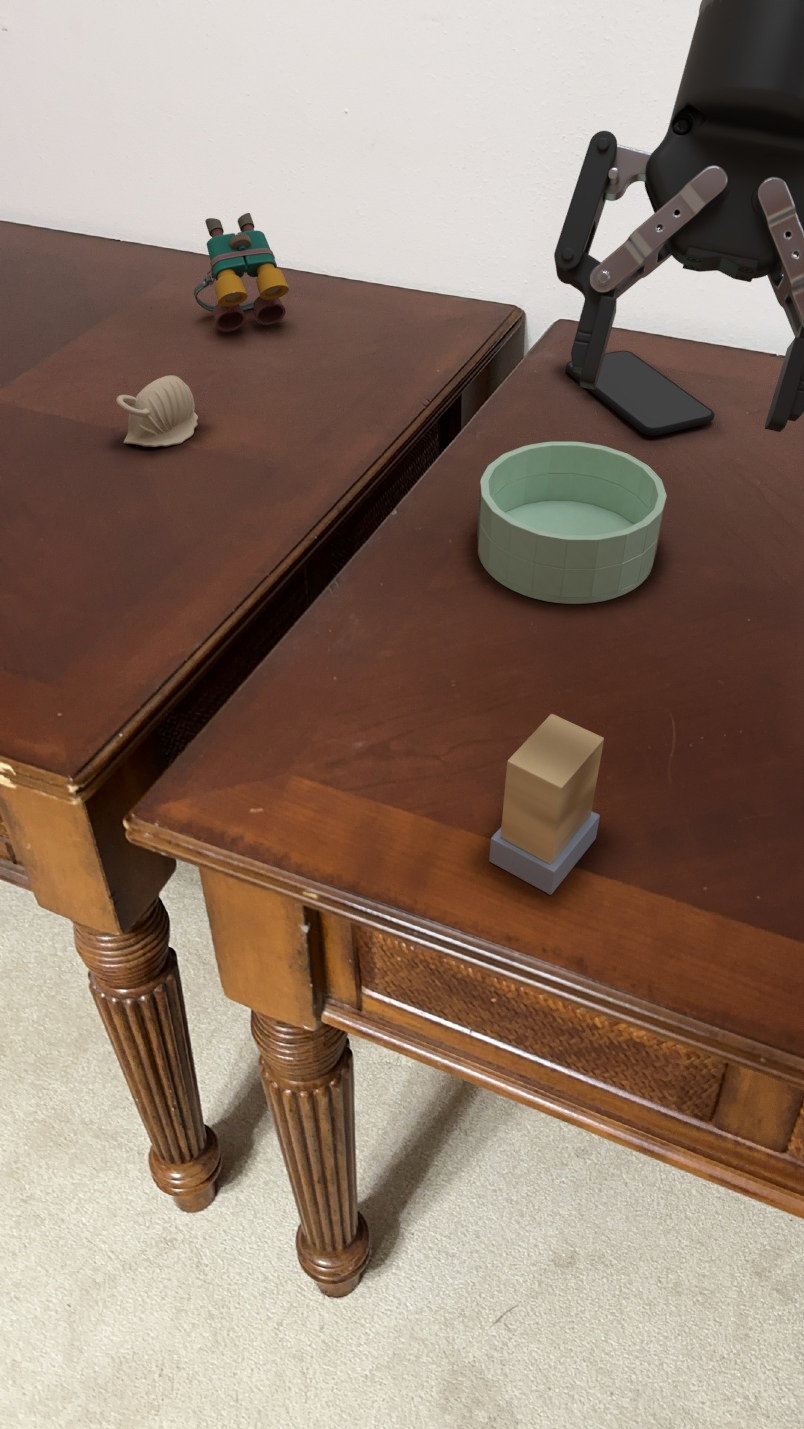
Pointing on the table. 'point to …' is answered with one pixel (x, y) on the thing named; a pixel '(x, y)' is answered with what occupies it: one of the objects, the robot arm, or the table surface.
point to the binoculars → (230, 265)
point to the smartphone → (645, 395)
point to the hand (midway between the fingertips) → (680, 406)
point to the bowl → (569, 521)
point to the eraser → (549, 804)
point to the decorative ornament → (160, 413)
